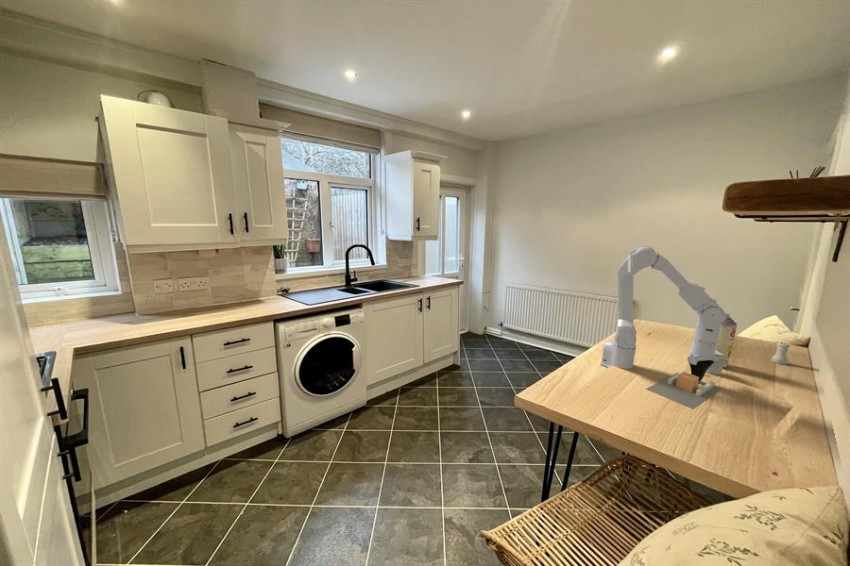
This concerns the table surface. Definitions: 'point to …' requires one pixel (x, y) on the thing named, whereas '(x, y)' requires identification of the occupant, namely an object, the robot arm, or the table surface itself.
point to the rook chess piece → (781, 354)
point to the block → (687, 381)
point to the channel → (683, 391)
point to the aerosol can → (726, 338)
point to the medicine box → (717, 364)
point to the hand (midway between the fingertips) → (696, 379)
